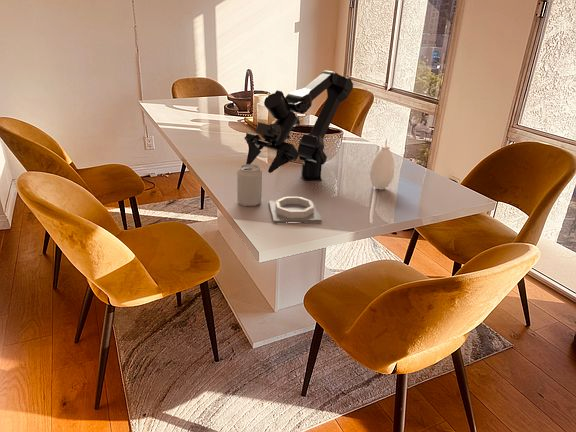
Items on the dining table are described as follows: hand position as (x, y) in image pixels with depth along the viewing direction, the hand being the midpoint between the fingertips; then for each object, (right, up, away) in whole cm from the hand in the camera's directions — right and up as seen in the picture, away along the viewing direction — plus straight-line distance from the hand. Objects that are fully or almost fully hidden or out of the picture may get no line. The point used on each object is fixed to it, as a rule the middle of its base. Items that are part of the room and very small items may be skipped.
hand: (257, 168), depth 138 cm
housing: (+11, -14, -3) cm, 18 cm away
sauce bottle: (+41, -5, +18) cm, 45 cm away
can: (-3, -11, +2) cm, 11 cm away
